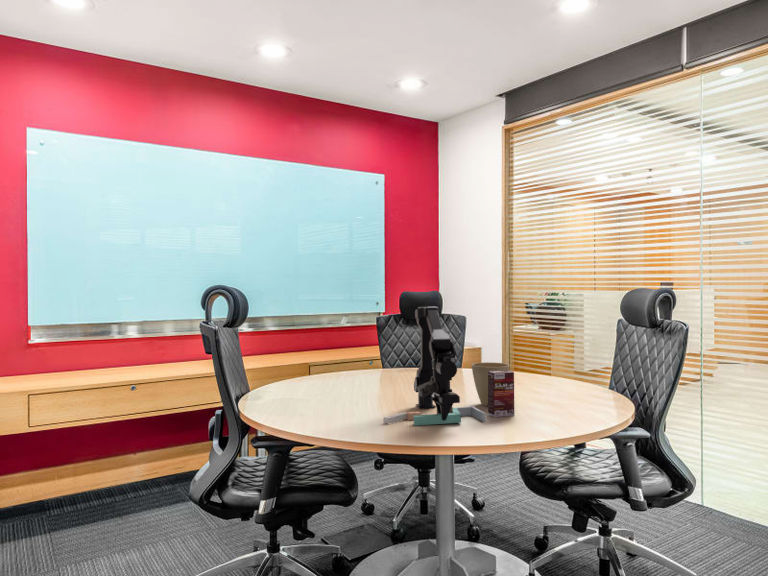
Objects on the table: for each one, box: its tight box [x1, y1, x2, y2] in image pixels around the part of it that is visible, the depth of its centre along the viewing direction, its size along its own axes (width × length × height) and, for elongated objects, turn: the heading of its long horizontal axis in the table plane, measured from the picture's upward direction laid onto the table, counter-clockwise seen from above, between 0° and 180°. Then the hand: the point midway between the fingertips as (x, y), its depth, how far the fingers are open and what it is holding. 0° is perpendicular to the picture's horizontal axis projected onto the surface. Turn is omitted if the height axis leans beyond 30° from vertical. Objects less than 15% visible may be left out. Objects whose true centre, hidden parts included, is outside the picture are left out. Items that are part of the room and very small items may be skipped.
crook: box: [413, 407, 462, 426], centre depth 189 cm, size 9×16×3 cm, turn 92°
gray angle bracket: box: [456, 405, 486, 422], centre depth 192 cm, size 12×12×3 cm
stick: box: [383, 412, 408, 425], centre depth 191 cm, size 2×10×2 cm, turn 136°
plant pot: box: [471, 362, 510, 407], centre depth 215 cm, size 15×15×16 cm
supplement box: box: [487, 370, 515, 418], centre depth 197 cm, size 9×5×16 cm, turn 106°
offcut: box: [406, 411, 422, 421], centre depth 193 cm, size 2×4×2 cm, turn 102°
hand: (442, 419), depth 186 cm, fingers closed on crook, 3 cm apart
